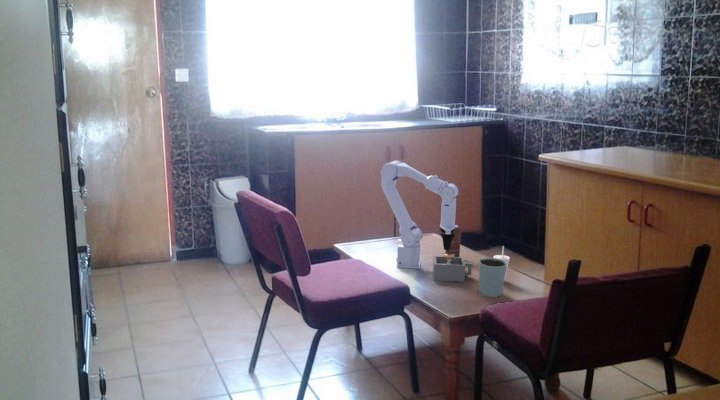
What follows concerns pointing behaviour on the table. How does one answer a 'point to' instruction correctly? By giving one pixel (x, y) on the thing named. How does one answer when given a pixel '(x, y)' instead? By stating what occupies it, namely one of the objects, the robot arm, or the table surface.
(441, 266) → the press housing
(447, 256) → the plunger
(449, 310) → the table surface
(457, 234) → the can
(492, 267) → the teal plant pot
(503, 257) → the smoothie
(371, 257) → the table surface
